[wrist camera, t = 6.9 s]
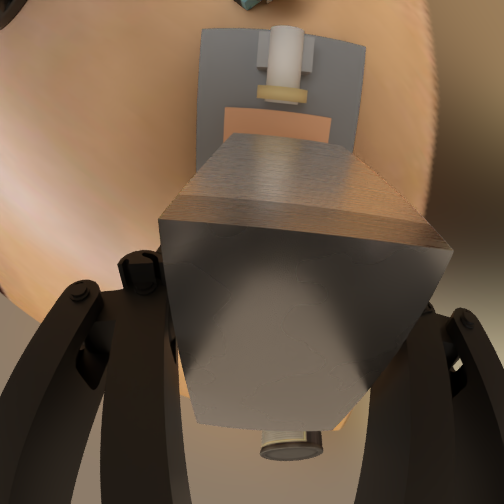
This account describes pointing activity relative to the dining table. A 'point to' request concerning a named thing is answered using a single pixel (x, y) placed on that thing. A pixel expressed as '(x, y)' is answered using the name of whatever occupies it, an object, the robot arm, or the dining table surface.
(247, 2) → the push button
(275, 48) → the coupling stand
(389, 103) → the dining table surface
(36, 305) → the dining table surface
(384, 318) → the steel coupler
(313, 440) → the coffee can
